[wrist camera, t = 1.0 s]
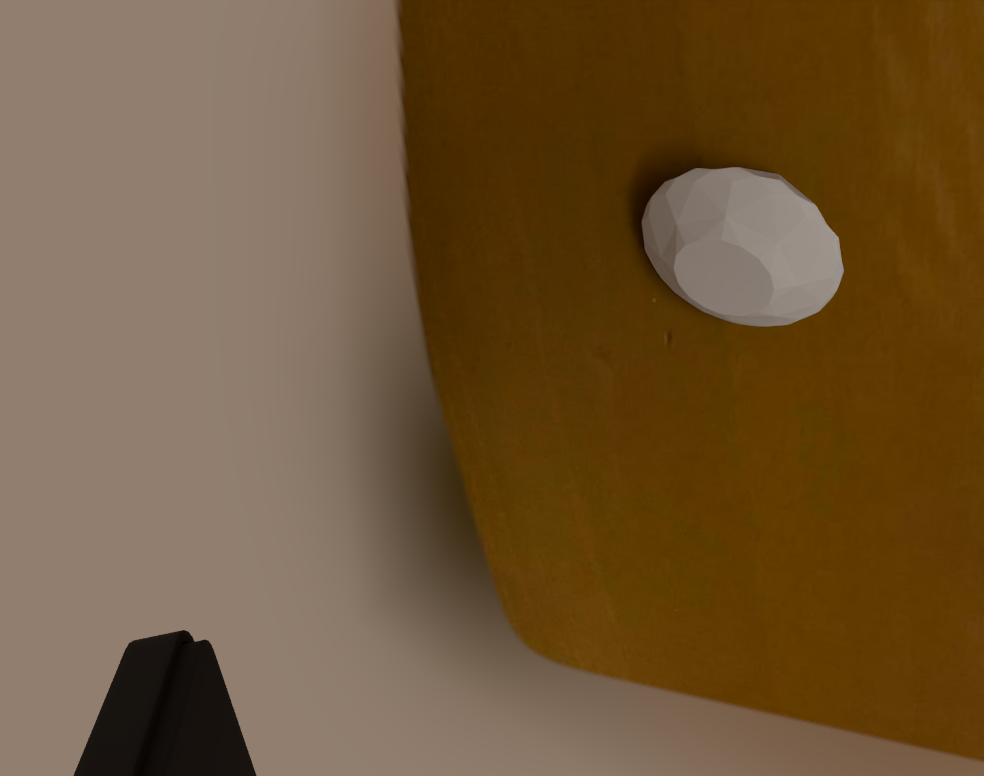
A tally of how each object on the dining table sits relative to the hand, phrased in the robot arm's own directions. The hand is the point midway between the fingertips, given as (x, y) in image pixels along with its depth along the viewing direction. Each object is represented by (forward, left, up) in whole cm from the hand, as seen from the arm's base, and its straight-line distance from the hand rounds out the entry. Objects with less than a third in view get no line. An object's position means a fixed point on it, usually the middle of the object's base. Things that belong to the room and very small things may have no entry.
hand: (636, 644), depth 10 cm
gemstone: (0, +8, -19) cm, 21 cm away
